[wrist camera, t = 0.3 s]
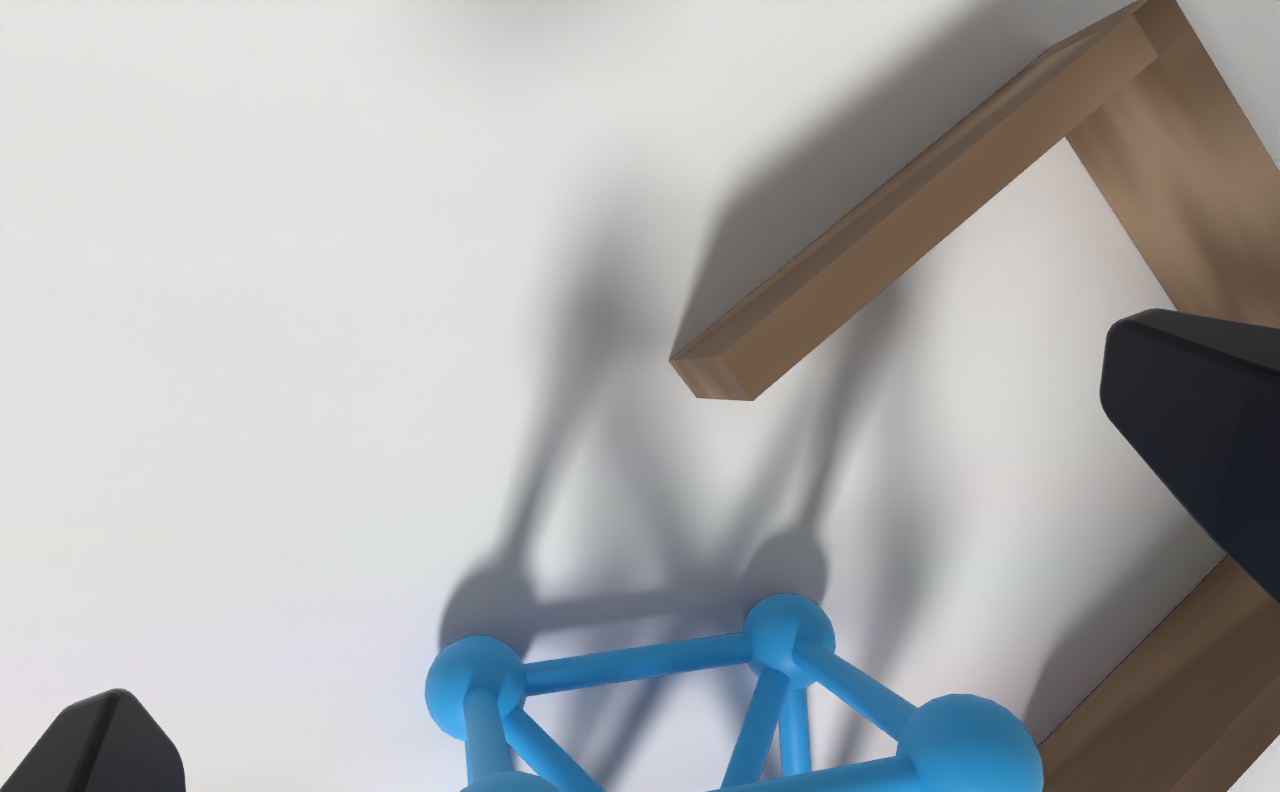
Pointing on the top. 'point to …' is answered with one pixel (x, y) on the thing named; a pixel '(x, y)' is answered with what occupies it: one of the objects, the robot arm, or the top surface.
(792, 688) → the molecular structure
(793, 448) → the top surface
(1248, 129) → the box
